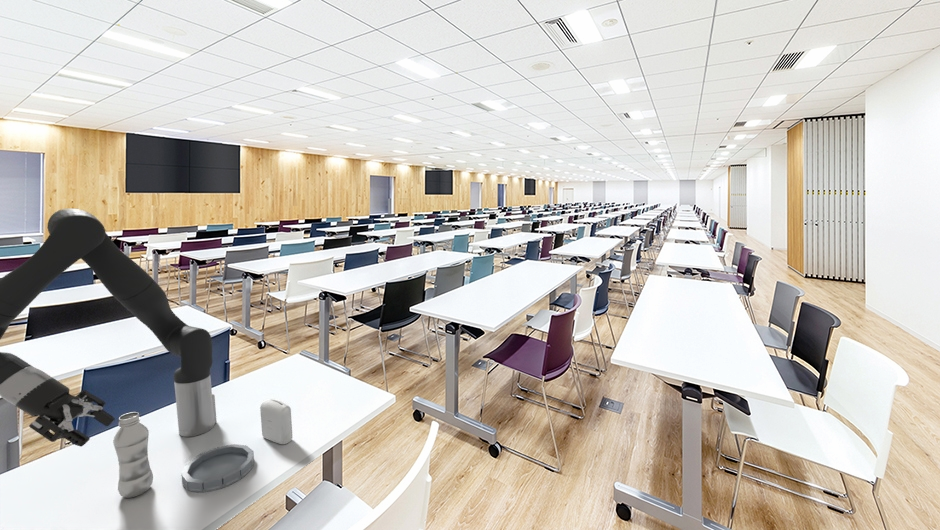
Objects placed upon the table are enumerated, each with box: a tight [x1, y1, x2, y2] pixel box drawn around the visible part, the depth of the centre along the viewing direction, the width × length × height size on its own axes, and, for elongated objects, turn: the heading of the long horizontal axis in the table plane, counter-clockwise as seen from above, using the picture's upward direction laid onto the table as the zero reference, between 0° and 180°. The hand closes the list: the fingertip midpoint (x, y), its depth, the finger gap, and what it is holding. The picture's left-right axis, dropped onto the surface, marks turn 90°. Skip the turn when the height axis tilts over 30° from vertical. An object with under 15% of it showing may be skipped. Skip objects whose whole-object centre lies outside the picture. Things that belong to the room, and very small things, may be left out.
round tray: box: [180, 443, 255, 493], centre depth 103 cm, size 16×16×2 cm
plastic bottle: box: [112, 411, 154, 499], centre depth 94 cm, size 6×7×20 cm
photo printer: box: [259, 398, 293, 445], centre depth 118 cm, size 10×4×12 cm, turn 64°
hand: (99, 432), depth 92 cm, fingers open, 8 cm apart
